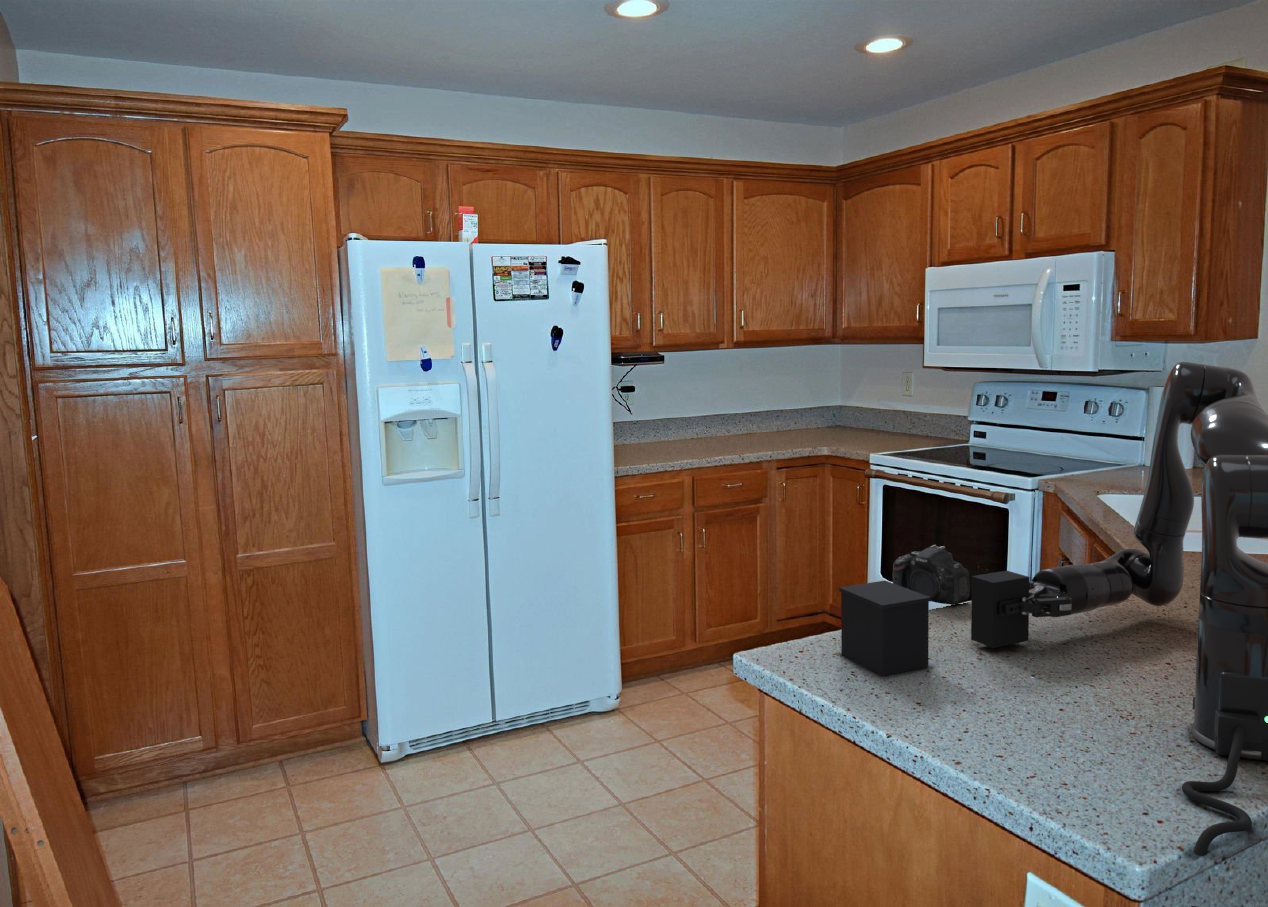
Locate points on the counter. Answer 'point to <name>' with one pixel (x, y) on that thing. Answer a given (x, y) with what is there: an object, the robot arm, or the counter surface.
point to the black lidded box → (885, 627)
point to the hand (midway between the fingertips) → (986, 604)
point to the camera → (933, 575)
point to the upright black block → (984, 609)
